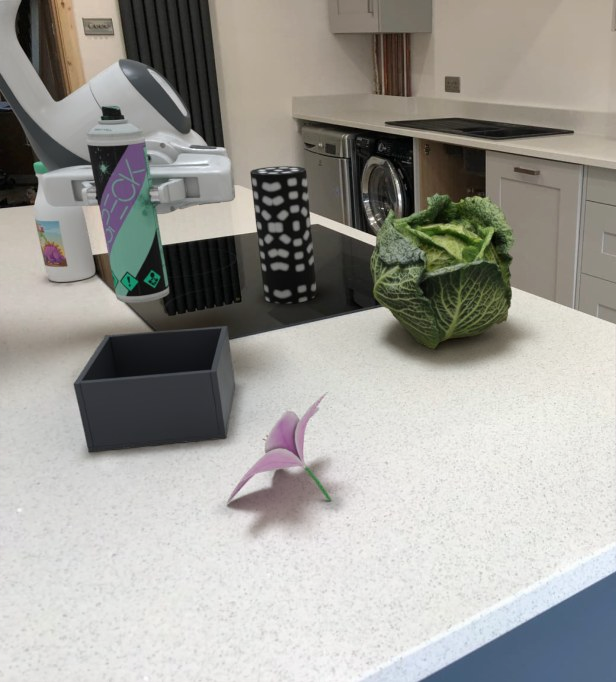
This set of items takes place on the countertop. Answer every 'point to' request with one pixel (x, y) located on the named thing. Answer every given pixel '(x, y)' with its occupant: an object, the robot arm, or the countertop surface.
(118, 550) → the countertop surface
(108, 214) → the spray can
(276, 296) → the spotted tube
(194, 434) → the bin
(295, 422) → the lily
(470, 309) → the vegetable
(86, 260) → the milk bottle
